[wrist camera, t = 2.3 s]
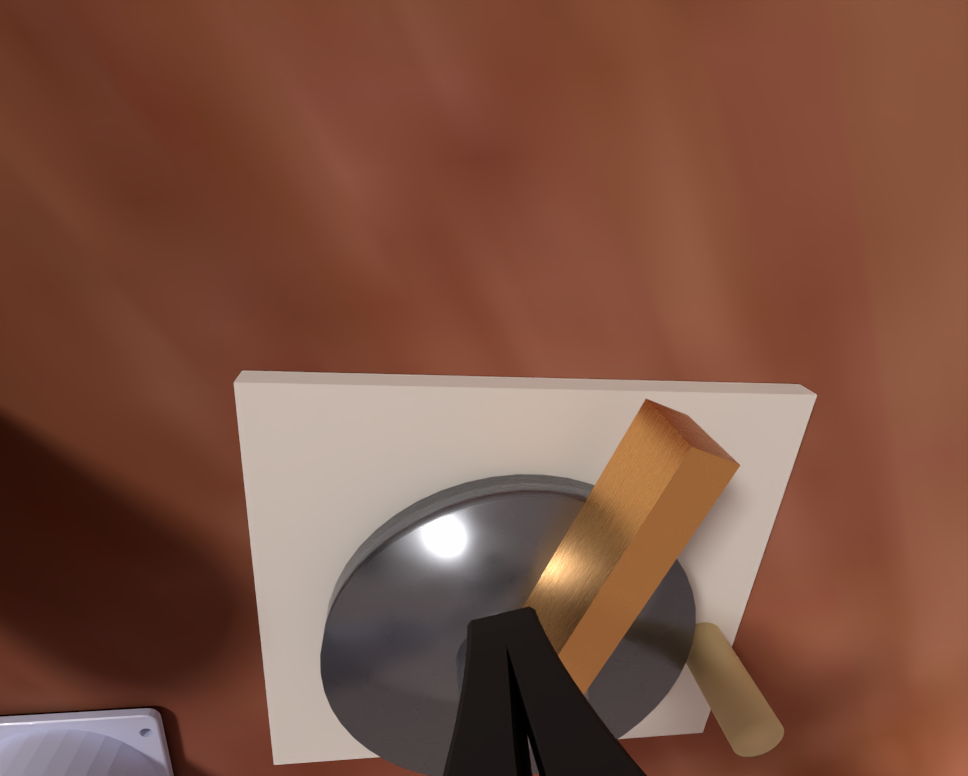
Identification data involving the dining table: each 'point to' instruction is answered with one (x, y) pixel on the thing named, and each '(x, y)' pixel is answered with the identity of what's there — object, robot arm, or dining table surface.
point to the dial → (526, 588)
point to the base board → (477, 455)
